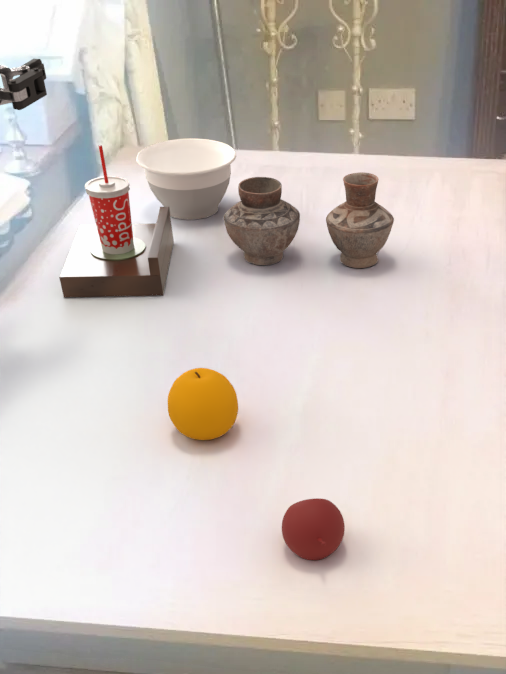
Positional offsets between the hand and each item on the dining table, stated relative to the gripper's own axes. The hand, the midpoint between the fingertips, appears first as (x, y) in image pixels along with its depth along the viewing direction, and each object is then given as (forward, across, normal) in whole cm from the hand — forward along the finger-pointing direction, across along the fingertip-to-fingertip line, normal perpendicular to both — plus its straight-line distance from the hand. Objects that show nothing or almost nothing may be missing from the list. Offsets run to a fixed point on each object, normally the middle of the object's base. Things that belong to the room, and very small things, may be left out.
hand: (5, 66), depth 103 cm
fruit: (-41, -46, +30) cm, 69 cm away
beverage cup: (+14, -3, +27) cm, 31 cm away
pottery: (+24, -29, +30) cm, 48 cm away
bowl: (+38, -6, +30) cm, 49 cm away
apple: (-23, -28, +30) cm, 48 cm away
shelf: (+14, -3, +30) cm, 33 cm away
